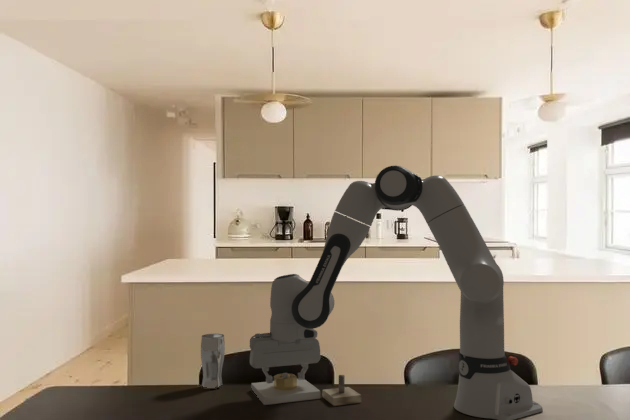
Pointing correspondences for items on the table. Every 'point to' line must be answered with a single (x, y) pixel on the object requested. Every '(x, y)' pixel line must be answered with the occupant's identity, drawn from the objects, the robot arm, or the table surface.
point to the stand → (341, 394)
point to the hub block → (285, 392)
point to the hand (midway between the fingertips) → (285, 381)
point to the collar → (285, 382)
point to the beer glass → (212, 359)
